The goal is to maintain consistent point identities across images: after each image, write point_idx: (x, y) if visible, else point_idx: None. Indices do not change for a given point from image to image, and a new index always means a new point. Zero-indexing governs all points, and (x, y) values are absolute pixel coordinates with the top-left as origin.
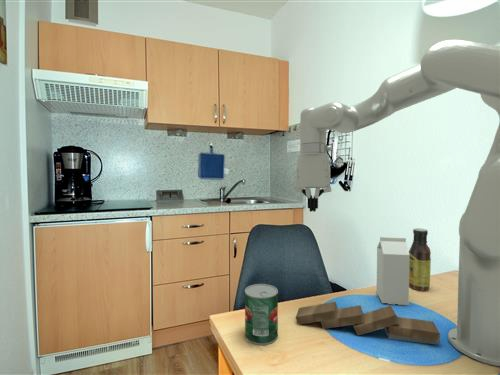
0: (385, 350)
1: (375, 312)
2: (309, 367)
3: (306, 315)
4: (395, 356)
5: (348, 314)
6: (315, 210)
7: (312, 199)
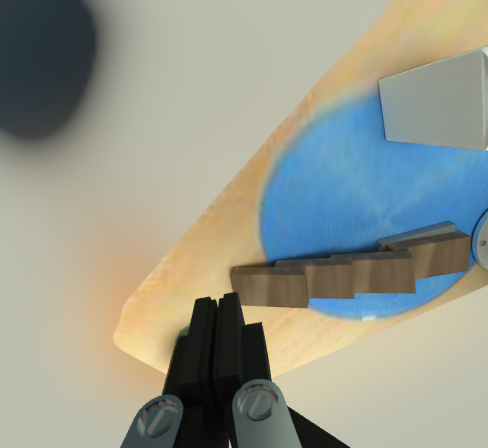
0: (372, 300)
1: (376, 268)
2: (283, 368)
3: (255, 305)
4: (384, 306)
5: (328, 291)
6: (243, 320)
7: (220, 415)
